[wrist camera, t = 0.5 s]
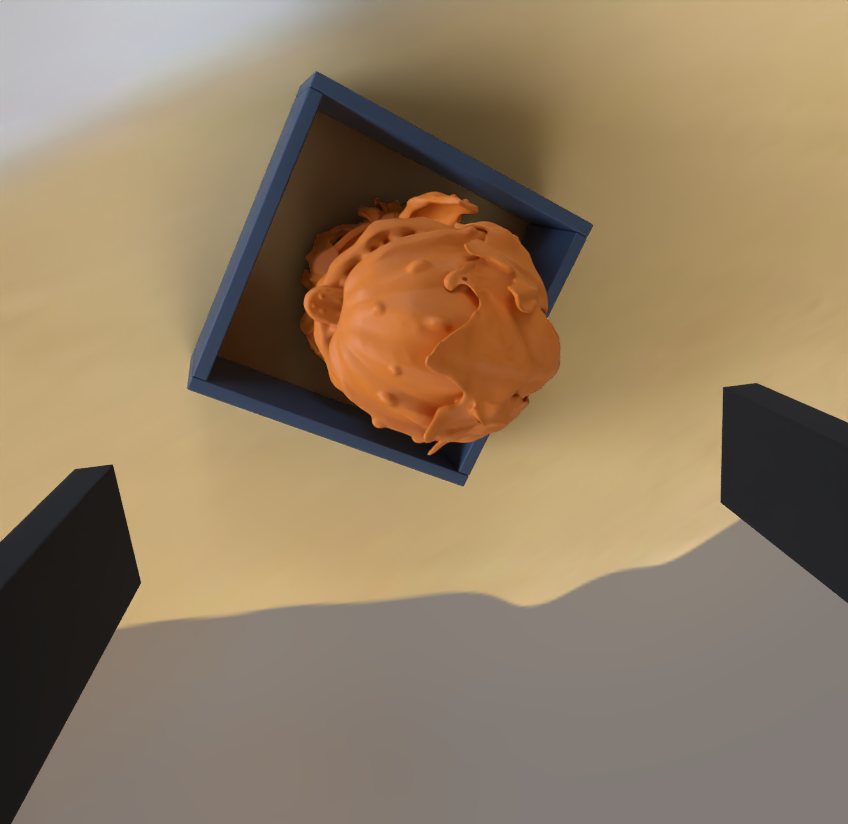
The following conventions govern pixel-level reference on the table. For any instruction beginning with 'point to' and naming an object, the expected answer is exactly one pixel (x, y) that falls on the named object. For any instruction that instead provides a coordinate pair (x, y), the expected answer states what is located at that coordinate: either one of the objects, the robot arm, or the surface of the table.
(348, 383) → the orange monster figurine
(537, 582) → the table surface
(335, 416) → the crate
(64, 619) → the robot arm
